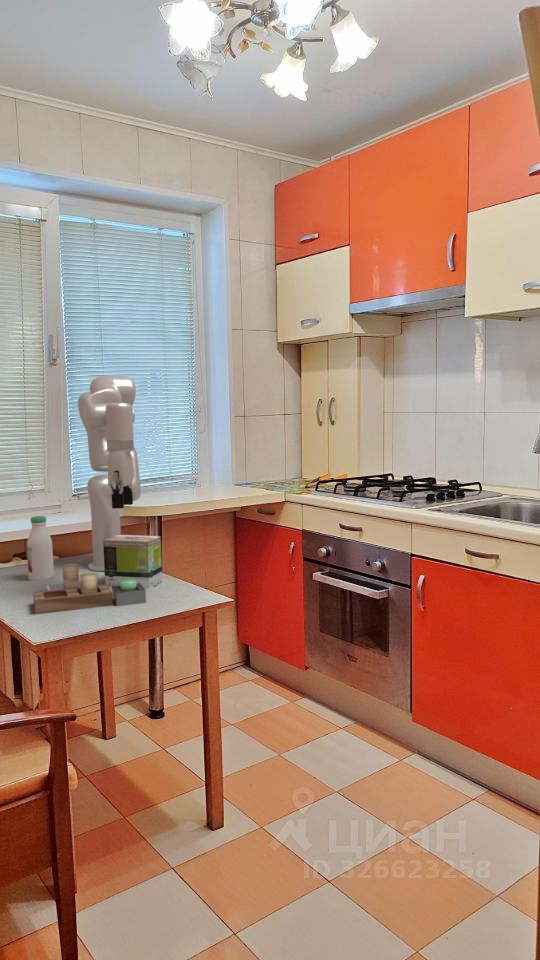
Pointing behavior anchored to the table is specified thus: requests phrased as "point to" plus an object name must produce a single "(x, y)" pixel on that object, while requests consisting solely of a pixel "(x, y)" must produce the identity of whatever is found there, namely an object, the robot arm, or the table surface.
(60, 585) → the shallow grey square tray
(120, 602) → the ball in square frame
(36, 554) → the milk bottle
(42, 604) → the wooden dowel rack
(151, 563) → the tea box
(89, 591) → the seated dowel
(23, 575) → the table surface
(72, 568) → the dowel
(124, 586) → the button
